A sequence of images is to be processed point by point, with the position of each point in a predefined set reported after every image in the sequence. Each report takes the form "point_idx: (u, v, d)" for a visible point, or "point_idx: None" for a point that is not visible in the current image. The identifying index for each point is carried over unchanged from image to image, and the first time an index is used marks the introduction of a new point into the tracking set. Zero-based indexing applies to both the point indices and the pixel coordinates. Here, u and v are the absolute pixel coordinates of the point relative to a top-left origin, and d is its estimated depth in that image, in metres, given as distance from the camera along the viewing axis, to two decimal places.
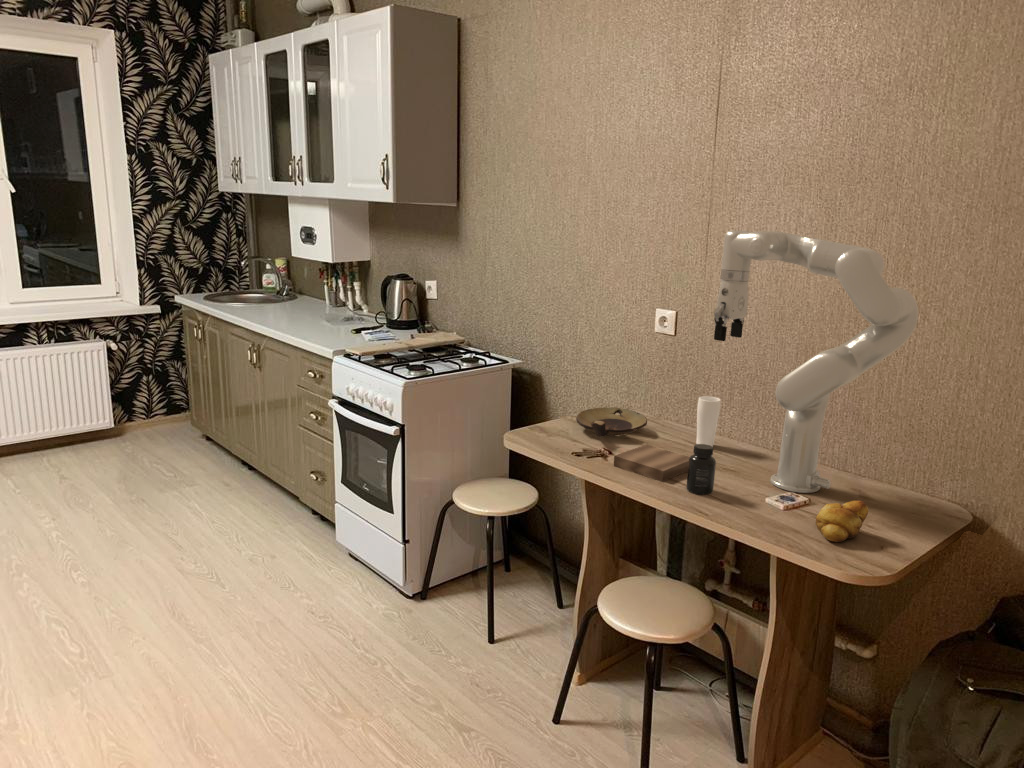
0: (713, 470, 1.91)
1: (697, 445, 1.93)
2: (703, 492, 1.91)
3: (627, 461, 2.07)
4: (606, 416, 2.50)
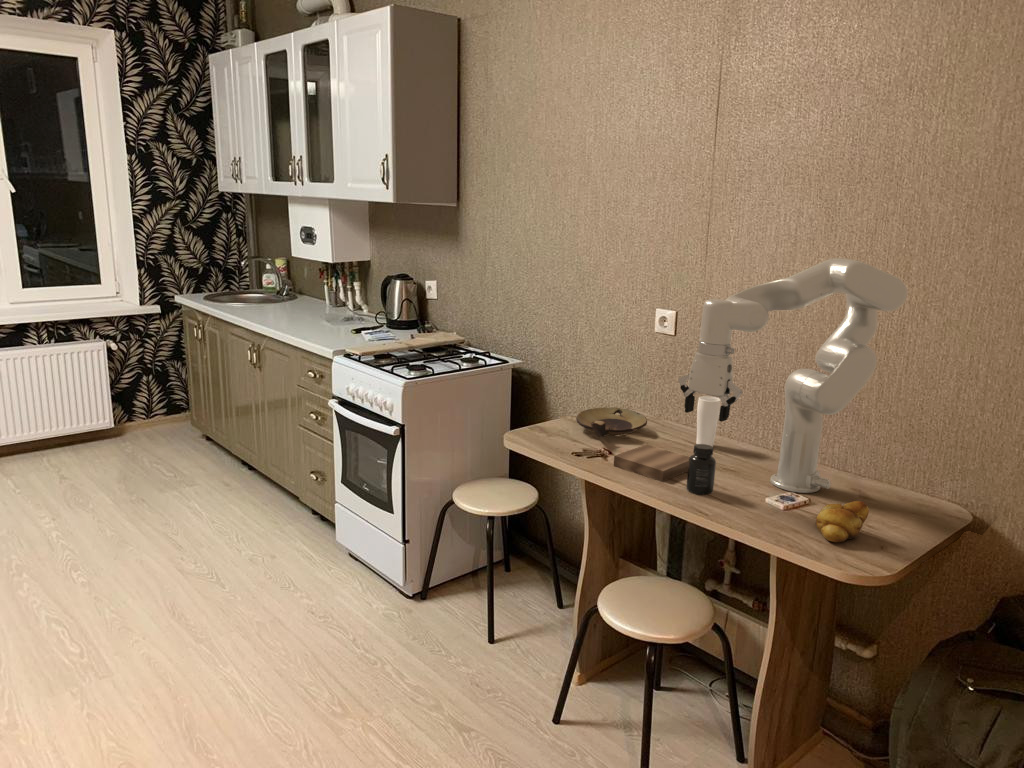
0: (713, 470, 1.91)
1: (697, 445, 1.93)
2: (703, 492, 1.91)
3: (627, 461, 2.07)
4: (606, 416, 2.50)
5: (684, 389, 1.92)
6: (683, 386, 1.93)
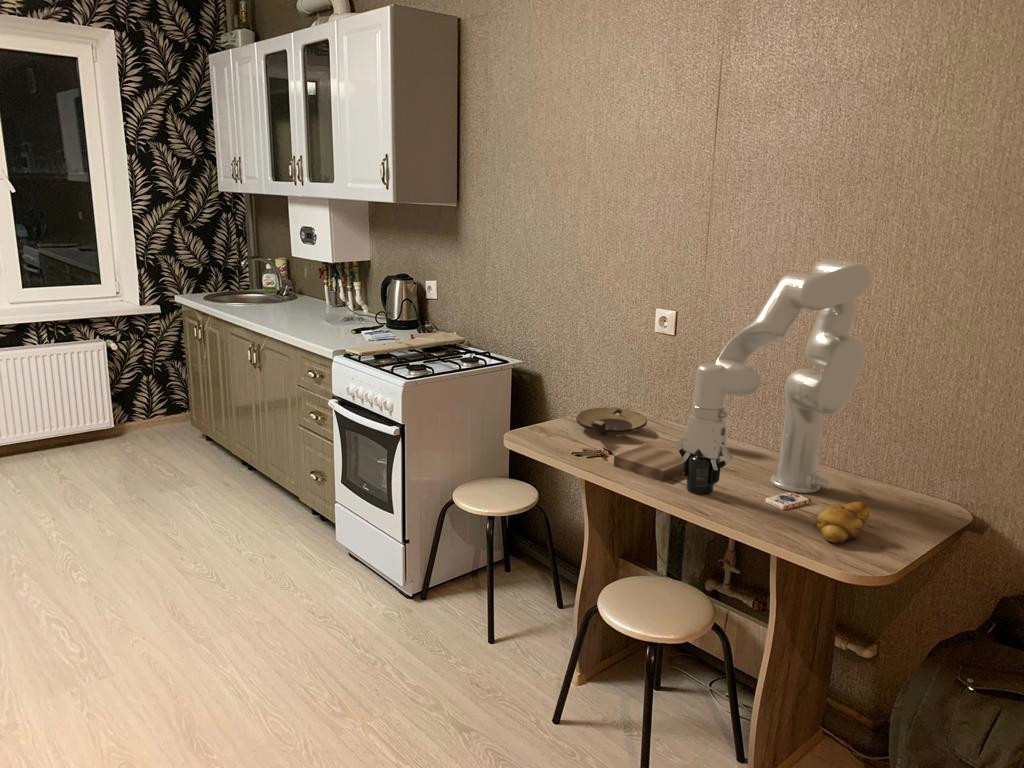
0: None
1: None
2: (703, 492, 1.91)
3: (627, 461, 2.07)
4: (606, 416, 2.50)
5: (683, 453, 1.96)
6: (682, 450, 1.96)
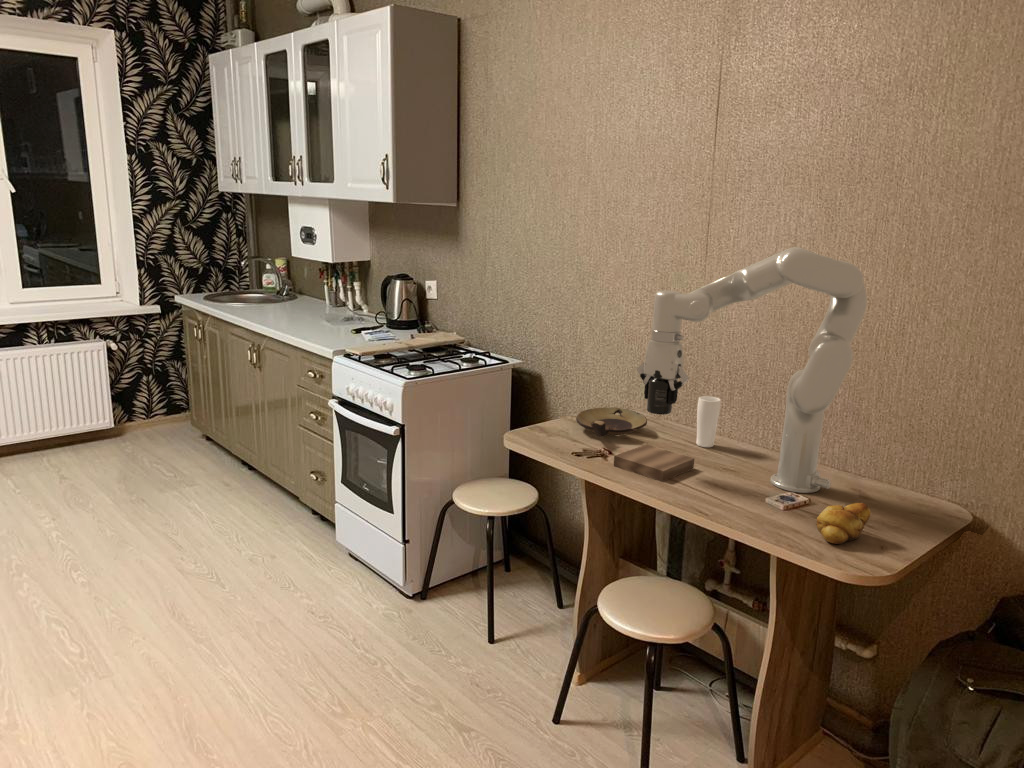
0: None
1: None
2: (662, 412, 2.04)
3: (627, 461, 2.07)
4: (606, 416, 2.50)
5: (643, 377, 2.08)
6: (642, 374, 2.08)
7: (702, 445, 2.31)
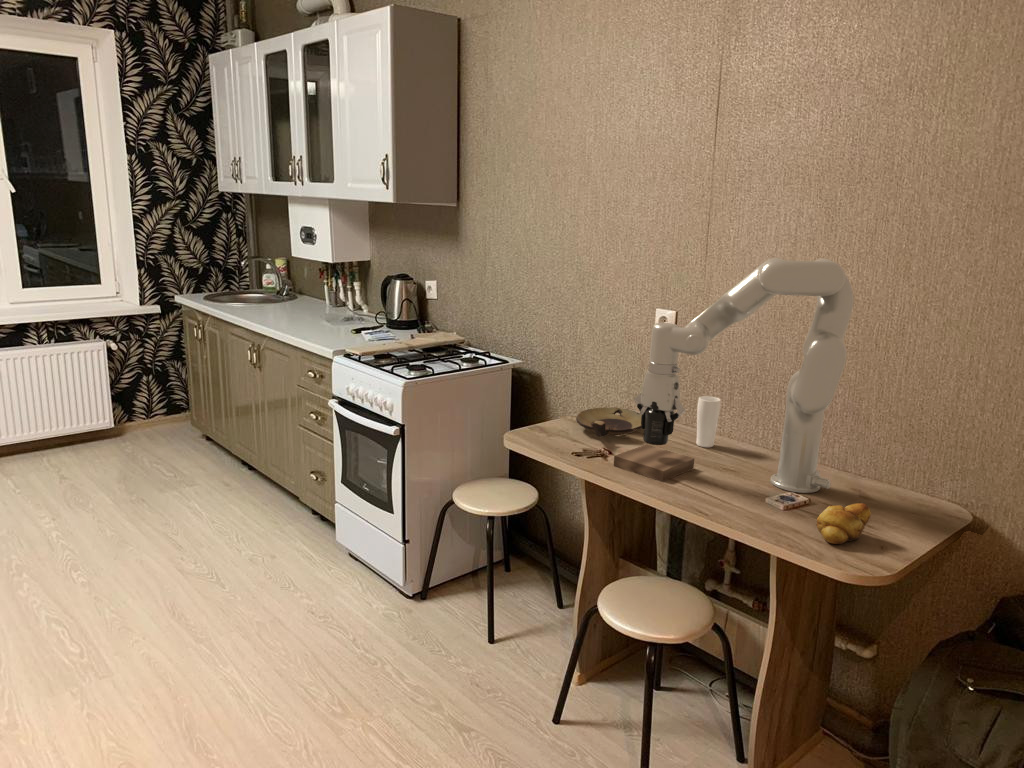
0: None
1: None
2: (658, 442, 2.06)
3: (627, 461, 2.07)
4: (606, 416, 2.50)
5: (640, 407, 2.10)
6: (639, 405, 2.10)
7: (702, 445, 2.31)
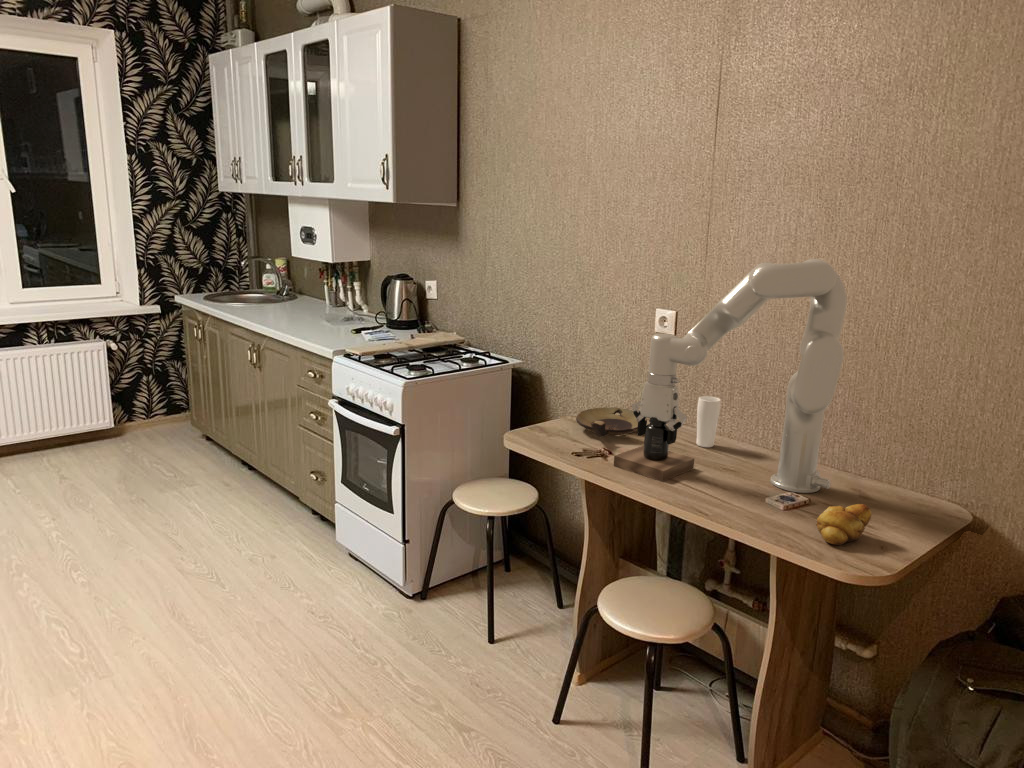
0: None
1: None
2: (658, 458, 2.07)
3: (627, 461, 2.07)
4: (606, 416, 2.50)
5: (636, 414, 2.12)
6: (636, 412, 2.12)
7: (702, 445, 2.31)
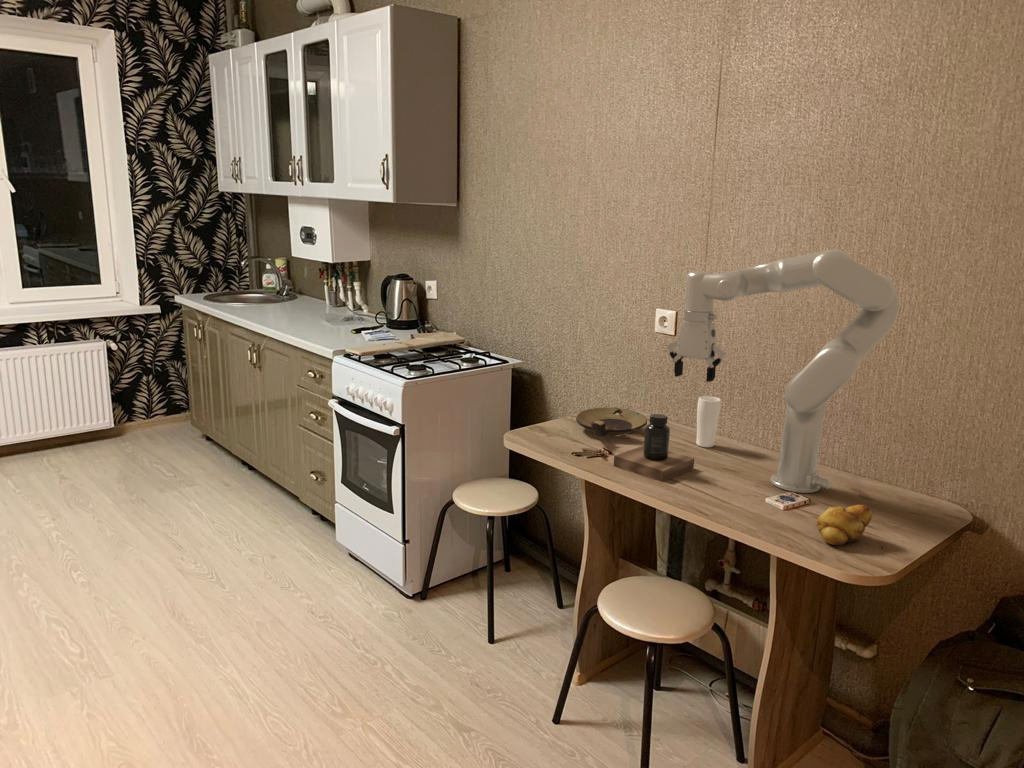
0: (667, 438, 2.06)
1: (653, 415, 2.08)
2: (658, 458, 2.07)
3: (627, 461, 2.07)
4: (606, 416, 2.50)
5: (673, 355, 2.11)
6: (672, 353, 2.11)
7: (702, 445, 2.31)
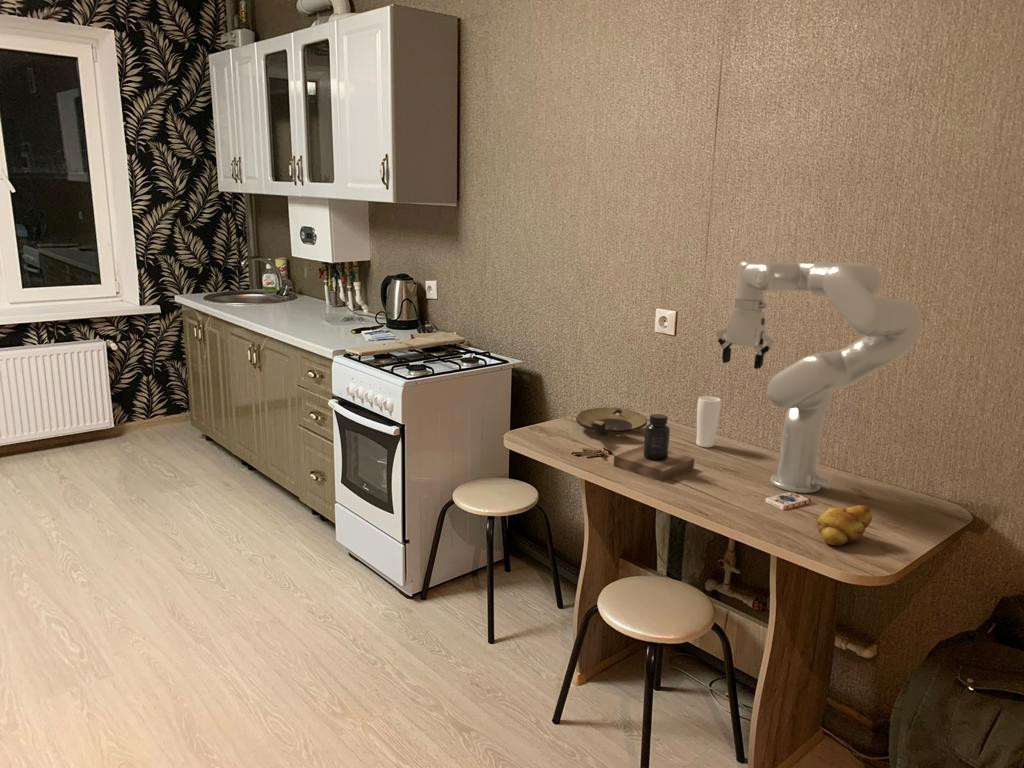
0: (667, 438, 2.06)
1: (653, 415, 2.08)
2: (658, 458, 2.07)
3: (627, 461, 2.07)
4: (606, 416, 2.50)
5: (721, 342, 2.17)
6: (721, 339, 2.17)
7: (702, 445, 2.31)
